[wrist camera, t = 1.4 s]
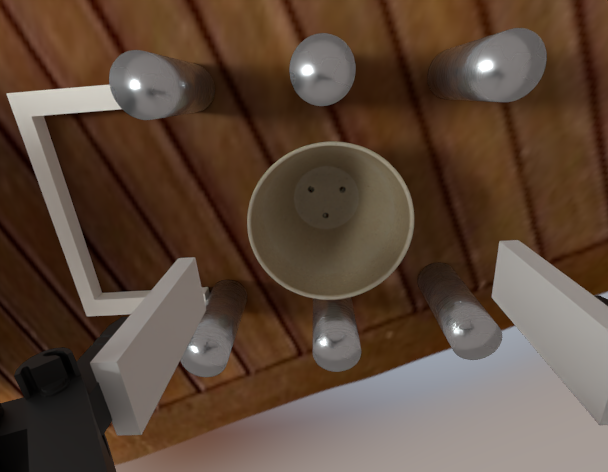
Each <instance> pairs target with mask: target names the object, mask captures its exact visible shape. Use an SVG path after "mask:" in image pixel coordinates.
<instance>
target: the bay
mask: <svg viewBox="0 0 608 472" xmlns="http://www.w3.org/2000/svg"><path fill="white" fill-rule="evenodd" d="M6 94H7V97H8V100H9V102H10V105H11V108H12V111H13V114H14V116H15V119H16V122H17V125H18V127H19V130H20V133H21V136H22V139H23V141H24V144H25V147H26V150H27V152H28V155H29V158H30V161H31V163H32V166H33V169H34V172H35V175H36V177H37V180H38V183H39V186H40V188H41V191H42V194H43V197H44V200H45V202H46V205H47V208H48V211H49V213H50V216H51V219H52V222H53V225H54V227H55V230H56V233H57V236H58V238H59V241H60V244H61V247H62V250H63V252H64V255H65V258H66V261H67V263H68V266H69V269H70V272H71V274H72V277H73V280H74V283H75V286H76V288H77V291H78V294H79V297H80V299H81V302H82V305H83V308H84V311H85V313H86V316H87V317H88V316H107V315H126V314H132V312H133V311H134V310H135V309H136V308H137V307H138V305H139V304H140V303H141V302H142V301H143V299H144V298H145V297H146V296H147V295H148V294H149V292H150V291H151V290H145V291H127V292H109V293H102V291H101V288H100V285H99V282H98V279H97V276H96V273H95V270H94V267H93V264H92V261H91V257H90V254H89V251H88V248H87V245H86V242H85V239H84V236H83V233H82V230H81V227H80V224H79V221H78V218H77V215H76V212H75V209H74V206H73V203H72V200H71V197H70V194H69V191H68V188H67V185H66V182H65V179H64V176H63V173H62V170H61V167H60V164H59V161H58V158H57V155H56V152H55V149H54V146H53V143H52V140H51V137H50V134H49V131H48V128H47V125H46V122H45V119H44V115H57V114H69V113H81V112H93V111H105V110H118V109H122V108H121V107H120V106H119V105H118V104H117V102H116V101H115V99H114V97H113V95H112V92H111V89H110V85H99V86H87V87H76V88H64V89H52V90H40V91H29V92H17V93H6ZM202 292H203V297H204V302H206V300H207V298H208V296H209V294H210V292H209V287H202Z"/></svg>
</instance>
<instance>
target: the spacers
mask: <svg viewBox="0 0 608 472" xmlns="http://www.w3.org/2000/svg"><path fill="white" fill-rule="evenodd" d="M546 60H547V54H546V48H545V45H544V43H543V41H542V40H541V38H540V37H539V36H538V35H537V34H536V33H534V32H533V31H531V30H528V29H524V28H514V29H510V30H506V31H503V32H500V33H497V34H494V35H491V36H488V37H485V38H481V39H478V40H475V41H472V42H469V43H466V44H463V45H460V46H456V47H453V48H450V49H447V50H445V51H443V52H441V53H440V54H438V55H437V56H436V57H435V59H434V60H433V61H432V63H431V65H430V67H429V70H428V85H429V87H430V89H431V91H432V92H433V93H434V94H435V95H436V96H437V97H439V98H442V99H451V100H470V101H489V102H511V101H515V100H518V99H520V98H522V97H524V96H525V95H527V94H528V93H529V92H530V91H532V90H533V89H534V87H535V86H536V85H537V84H538V82H539V81H540V79H541V77H542V75H543V73H544V70H545V66H546ZM355 72H356V66H355V60H354V56H353V54H352V52H351V50H350V48H349V47H348V45H347V44H346V43H345V42H344V41H343V40H342V39H340V38H339V37H337V36H334V35H331V34H326V33H320V34H315V35H312V36H310V37H308V38H306V39H305V40H303V41H302V42H301V43H300V44H299V45H298V47H297V48H296V50H295V51H294V53H293V55H292V58H291V62H290V79H291V83H292V85H293V88H294V89H295V91H296V93H297V94H298V95H299V96H300V97H301V98H302V99H303V100H304V101H306V102H308V103H310V104H312V105H316V106H327V105H331V104H334V103H336V102H338V101H339V100H341V99H342V98H343V97H344V96H345V95H346V94H347V93H348V92H349V90H350V88H351V87H352V84H353V82H354V78H355ZM109 84H110V89H111V92H112V95H113V97H114V99H115V101H116V102H117V104H118V105H119V106H120V107H121V108H122V109H123V110H124V111H125V112H126V113H128V114H129V115H131V116H133V117H135V118H138V119H141V120H152V119H158V118H164V117H170V116H176V115H182V114H188V113H194V112H199V111H202V110H205V109H206V108H207V107H208V106H209V105H210V104H211V103H212V101H213V99H214V94H215V86H214V82H213V79H212V77H211V75H210V74H209V73H208V71H207V70H206V69H204V68H203V67H202V66H200V65H198V64H194V63H190V62H186V61H182V60H178V59H174V58H170V57H166V56H162V55H157V54H153V53H149V52H145V51H140V50H132V51H128V52H125V53H123V54H121V55H120V56H119V57H118V58H117V59H116V60H115V61H114V63H113V65H112V67H111V70H110V75H109ZM418 286H419V288H420V290H421V292H422V294H423V296H424V298H425V299H426V301H427V303H428V305H429V307H430V309H431V310H432V312H433V314H434V316H435V318H436V320H437V321H438V323H439V325H440V327H441V329H442V331H443V332H444V334H445V336H446V338H447V340H448V342H449V344H450V345H451V347H452V349H453V351H454V352H455V353H456V354H457V355H458V356H459V357H462V358H464V359H469V360H478V359H482V358H485V357H487V356H489V355H491V354H492V353H493V352H495V351H496V350H497V348H498V347H499V345H500V343H501V341H502V332H501V330H500V328H499V326H498V325H497V324H496V323H495V321H494V320H493V319H492V318H491V316H490V315H489V314H488V313H487V311H486V310H485V309H484V308H483V306H482V305H481V304H480V303H479V301H478V300H477V299H476V297H475V296H474V295H473V294H472V292H471V291H470V290H469V289H468V287H467V286H466V285H465V284H464V282H463V281H462V280H461V279H460V277H459V276H458V275H457V273H456V272H455V271H454V270H453V268H452V267H450V266H449V265H447V264H445V263H433V264H430V265H428V266H426V267H425V268H424V269H423V270H422V271H421V272H420V274H419V276H418ZM246 302H247V292H246V290H245V288H244V287H243V286H242V285H241V284H239V283H238V282H236V281H233V280H223V281H220V282H218V283H217V284H215V285H214V287H213V288H212V290H211V292H210V294H209V296H208V298H207V300H206V302H205V306H206V311H205V313H204V315H203V317H202V319H201V321H200V323H199V325H198V327H197V329H196V331H195V333H194V334H193V336H192V338H191V340H190V342H189V344H188V346H187V348H186V350H185V352H184V354H183V356H182V358H181V363H182V365H183V366H184V368H185V369H186V370H188V371H189V372H190V373H192V374H194V375H197V376H201V377H212V376H216V375H218V374H220V373H221V372H222V371H223V370H224V369H225V367H226V365H227V362H228V359H229V355H230V352H231V349H232V346H233V343H234V340H235V336H236V333H237V330H238V327H239V324H240V321H241V318H242V314H243V311H244V308H245V305H246ZM313 357H314V359H315V361H316V363H317V364H318V365H319V366H320V367H322V368H324V369H326V370H329V371H334V372H339V371H345V370H348V369H350V368H352V367H353V366H354V365H355V364H356V363H357V362H358V361H359V359H360V357H361V346H360V341H359V336H358V330H357V325H356V320H355V314H354V309H353V304H352V298H351V297H349V298H344V299H337V300H322V299H314V298H313Z"/></svg>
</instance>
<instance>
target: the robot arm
mask: <svg viewBox="0 0 608 472" xmlns="http://www.w3.org/2000/svg"><path fill="white" fill-rule="evenodd" d="M492 298H493V300H494V301H495V302H496V303H497V304H498V306H499V307H500V308H501V309H502V310H503V312H504V313H505V314H506V315H507V316H508V317H509V319H510V320H511V321H512V322H513V323H514V325H515V326H516V327H517V328H518V329H519V330H520V332H521V333H522V334H523V335H524V336H525V338H526V339H527V340H528V341H529V342H530V343H531V345H532V346H533V347H534V348H535V349H536V351H537V352H538V353H539V354H540V355H541V357H542V358H543V359H544V360H545V361H546V362H547V364H548V365H549V366H550V367H551V368H552V370H553V371H554V372H555V373H556V374H557V376H558V377H559V378H560V379H561V380H562V381H563V383H564V384H565V385H566V386H567V387H568V389H569V390H570V391H571V392H572V393H573V394H574V396H575V397H576V398H577V399H578V400H579V401H580V403H581V404H582V405H583V406H584V407H585V409H586V410H587V411H588V412H589V413H590V415H591V416H592V417H593V418H594V419H595V421H596V422H597V423H598V424H599V425H608V299H606V298H603V297H601V296H593V295H592V294H591V293H589V292H588V291H586V290H585V289H584V288H582V287H581V286H580V285H578V284H577V283H576V282H574V281H573V280H572V279H570V278H569V277H568V276H566V275H565V274H563V273H562V272H561V271H559V270H558V269H557V268H555V267H554V266H553V265H551V264H550V263H549V262H547V261H546V260H545V259H543V258H542V257H541V256H539V255H538V254H536V253H535V252H534V251H532V250H531V249H530V248H528V247H527V246H526V245H524V244H523V243H522V242H520V241H519V240H509V241H499V247H498V255H497V262H496V269H495V276H494V284H493V291H492ZM205 311H206V306H205V302H204V297H203V292H202V287H201V282H200V278H199V273H198V268H197V263H196V259H195V257H191V258H178V259H177V260H176V262H175V263H174V264H173V265H172V266H171V268H170V269H169V270H168V271H167V272H166V273H165V275H164V276H163V277H162V278H161V279H160V281H159V282H158V283H157V284H156V285H155V286H154V288H153V289H152V290H151V291H150V292H149V294H148V295H147V296H146V297H145V298H144V299H143V301H142V302H141V303H140V304H139V305H138V307H137V308H136V309H135V310H134V311H133V312H132V314H131V315H130V316H129V317H121V318H120V319H118V320H117V321H115V322H114V323H112V324H111V325H109V326H108V327H107V328H106V330H105V331H104V332H103V333H102V334H101V335H100V337H99V338H97V340H96V341H95V342H94V343H93V346H90V347H89V348H88V350H87V351H86V352H85V353H84V354H83V355H82V356H81V357H80V358H79V360H78V361H77V362H76V360H75V358H74V355H73V353H72V351H71V350H70V349H68V348H63V347H62V348H53V349H50V350H47V351H43V352H41V353H39V354H37V355H35V356H33V357H31V358H30V359H28V360H27V361H25V362H24V363H22V365H21V366H20V367H19V368H18V369H17V370H16V372H15V375H14V377H15V379H16V381H17V383H18V385H19V387H20V389H21V391H22V393H23V395H24V398H20V399H16V400H12V401H8V402H4V403H0V472H116V469H115V466H114V462H113V459H112V455H111V452H110V449H109V445H108V442H107V439H106V437H105V434H104V432H105V431H106V429H107V428H108V426H109V425H110V423H111V421H112V423H113V426H114V429H115V431H116V434H117V435H142V433H143V431H144V429H145V427H146V425H147V423H148V421H149V419H150V417H151V416H152V414H153V412H154V410H155V408H156V406H157V404H158V402H159V400H160V398H161V396H162V394H163V392H164V390H165V389H166V387H167V385H168V383H169V381H170V379H171V377H172V375H173V373H174V371H175V369H176V367H177V365H178V363H179V361H180V360H181V358H182V356H183V354H184V352H185V350H186V348H187V346H188V344H189V342H190V340H191V338H192V336H193V334H194V333H195V331H196V329H197V327H198V325H199V323H200V321H201V319H202V317H203V315H204V313H205Z"/></svg>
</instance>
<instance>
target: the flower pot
mask: <svg viewBox="0 0 608 472" xmlns="http://www.w3.org/2000/svg"><path fill="white" fill-rule="evenodd" d="M341 187H343V189H341V190H340V188H341ZM309 189H310V190H312V192H310V191H309ZM326 214H328V217H327V216H326ZM247 230H248V237H249V241H250V244H251V247H252V250H253V252H254V255H255V257H256V258H257V260H258V262H259V263H260V265H261V266H262V268H263V269H264V270H265V271H266V272H267V273H268V274H269V276H270V277H271V278H273V279H274V280H275V281H276V282H277V283H279V284H280V285H282V286H283V287H285V288H286V289H288V290H290V291H292V292H294V293H297V294H299V295H302V296H305V297H309V298H314V299H322V300H337V299H344V298H349V297H353V296H356V295H359V294H362V293H364V292H366V291H368V290H370V289H372V288H374V287H375V286H377V285H379V284H380V283H381V282H383V281H384V280H385V279H387V278H388V277H389V276H390V275H391V274H392V273H393V272H394V271H395V269H396V268H397V267H398V265H399V264H400V263H401V261H402V260H403V258H404V257H405V255H406V253H407V250H408V248H409V246H410V243H411V240H412V236H413V230H414V208H413V203H412V198H411V195H410V192H409V190H408V188H407V186H406V184H405V182H404V180H403V179H402V177H401V176H400V174H399V173H398V172H397V170H396V169H395V168H394V167H393V166H392V165H391V164H390V163H389V162H388V161H387V160H385V159H384V158H383V157H381V156H380V155H378V154H377V153H375V152H373V151H371V150H369V149H367V148H365V147H362V146H359V145H355V144H351V143H346V142H335V141H330V142H319V143H314V144H310V145H306V146H303V147H300V148H298V149H296V150H294V151H292V152H290V153H288V154H286V155H285V156H283V157H282V158H280V159H279V160H278V161H276V162H275V163H274V164H273V165H272V166H271V167H270V168H269V169H268V170H267V171H266V172H265V173H264V175H263V176H262V177H261V179H260V180H259V182H258V184H257V185H256V187H255V189H254V191H253V194H252V196H251V200H250V203H249V208H248V215H247Z"/></svg>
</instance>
